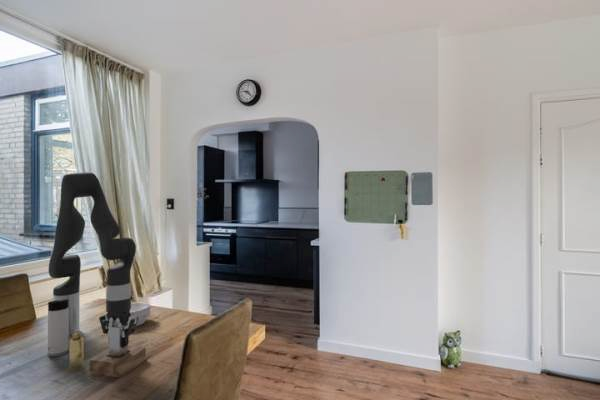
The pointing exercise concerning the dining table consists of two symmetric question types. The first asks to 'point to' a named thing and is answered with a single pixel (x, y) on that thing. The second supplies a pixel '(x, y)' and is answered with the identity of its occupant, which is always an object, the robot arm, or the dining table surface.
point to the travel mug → (58, 327)
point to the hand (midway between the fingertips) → (118, 346)
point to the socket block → (117, 362)
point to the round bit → (76, 352)
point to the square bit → (116, 341)
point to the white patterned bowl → (140, 311)
